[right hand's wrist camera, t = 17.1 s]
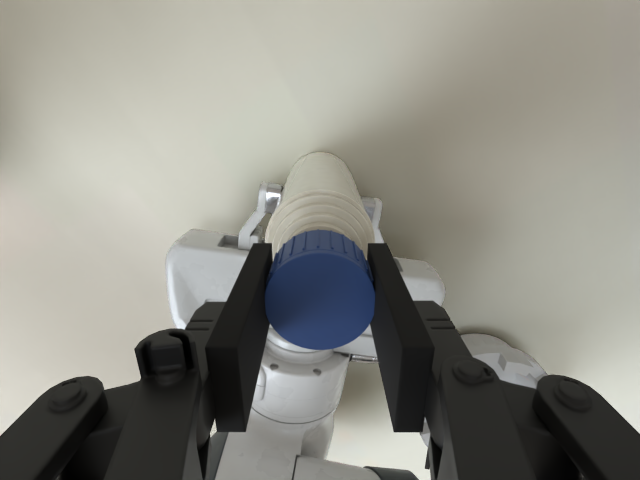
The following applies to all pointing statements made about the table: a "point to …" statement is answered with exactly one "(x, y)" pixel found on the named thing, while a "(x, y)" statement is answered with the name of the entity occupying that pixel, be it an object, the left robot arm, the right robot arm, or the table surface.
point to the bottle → (320, 203)
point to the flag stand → (500, 364)
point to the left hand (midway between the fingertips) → (321, 191)
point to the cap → (320, 291)
